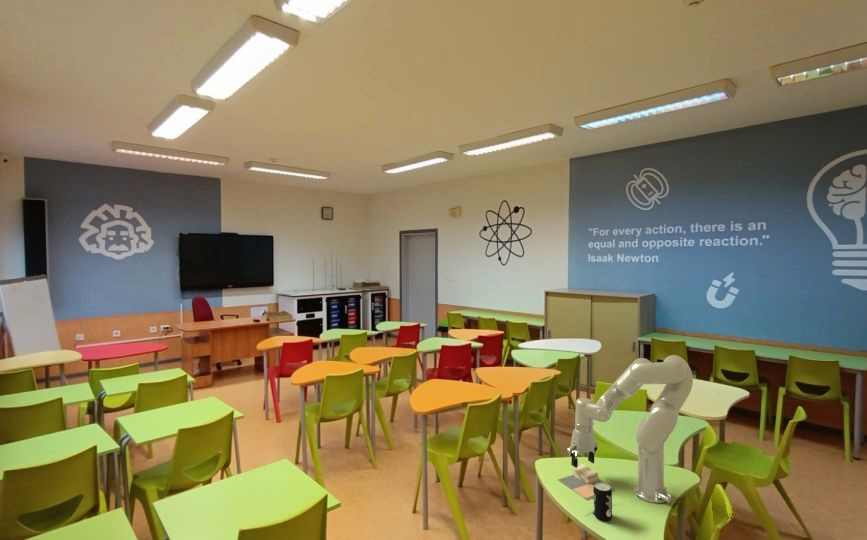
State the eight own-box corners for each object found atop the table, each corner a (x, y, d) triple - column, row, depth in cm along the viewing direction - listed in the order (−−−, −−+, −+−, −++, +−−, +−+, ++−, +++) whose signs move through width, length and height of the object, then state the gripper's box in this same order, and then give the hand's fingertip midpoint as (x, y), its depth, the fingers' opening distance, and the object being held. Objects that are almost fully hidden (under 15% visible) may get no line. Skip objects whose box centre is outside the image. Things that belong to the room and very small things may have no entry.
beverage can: (602, 524, 159) (602, 492, 159) (589, 514, 165) (589, 484, 165) (616, 519, 162) (615, 488, 161) (602, 510, 168) (602, 480, 167)
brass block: (598, 481, 188) (597, 473, 188) (587, 484, 185) (587, 476, 185) (583, 471, 196) (582, 464, 196) (572, 474, 193) (572, 467, 193)
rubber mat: (616, 492, 180) (616, 490, 180) (587, 501, 173) (587, 500, 173) (584, 472, 196) (584, 470, 196) (557, 481, 190) (557, 479, 190)
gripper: (592, 420, 197) (591, 456, 198) (562, 426, 190) (561, 464, 191) (604, 426, 190) (603, 464, 191) (575, 433, 183) (573, 472, 184)
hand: (582, 464), depth 191 cm, fingers open, 9 cm apart
